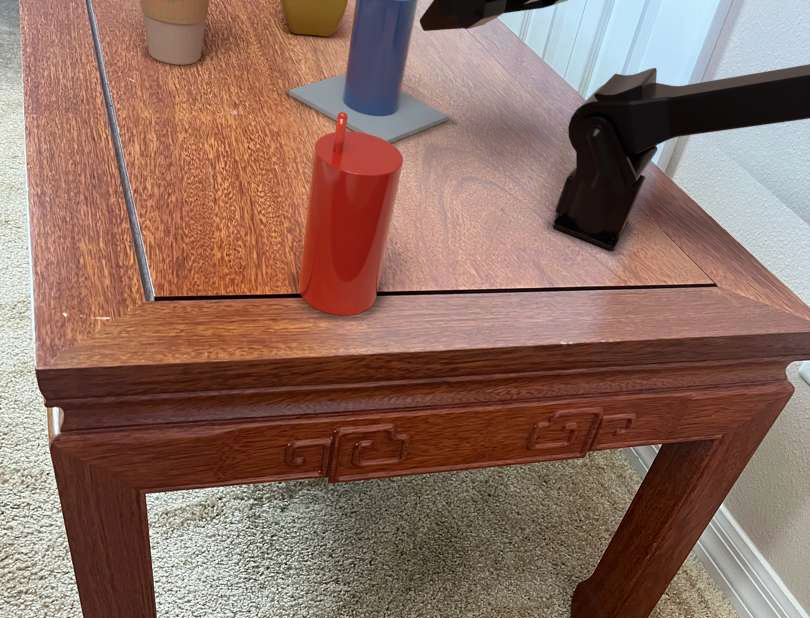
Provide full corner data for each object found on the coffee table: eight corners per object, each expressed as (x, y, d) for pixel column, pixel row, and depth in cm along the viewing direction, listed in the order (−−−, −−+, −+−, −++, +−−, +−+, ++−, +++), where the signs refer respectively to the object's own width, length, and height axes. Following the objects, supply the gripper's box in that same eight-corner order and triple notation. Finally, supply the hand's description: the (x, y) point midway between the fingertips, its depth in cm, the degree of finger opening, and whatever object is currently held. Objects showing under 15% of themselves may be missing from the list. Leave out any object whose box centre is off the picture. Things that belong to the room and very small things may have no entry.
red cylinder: (366, 268, 70) (398, 96, 60) (384, 314, 66) (420, 137, 56) (292, 267, 68) (312, 90, 58) (305, 316, 64) (328, 133, 54)
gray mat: (447, 120, 95) (448, 115, 95) (382, 146, 87) (382, 141, 87) (358, 74, 101) (358, 69, 100) (288, 94, 93) (289, 89, 92)
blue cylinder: (409, 108, 94) (436, -34, 84) (373, 121, 90) (398, -27, 80) (367, 86, 97) (389, -55, 87) (330, 98, 93) (349, -49, 82)
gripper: (598, -166, 74) (471, -72, 85) (482, -165, 61) (353, -55, 73) (641, -43, 76) (512, 33, 87) (538, -18, 64) (404, 66, 75)
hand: (450, 18), depth 81 cm, fingers open, 9 cm apart
